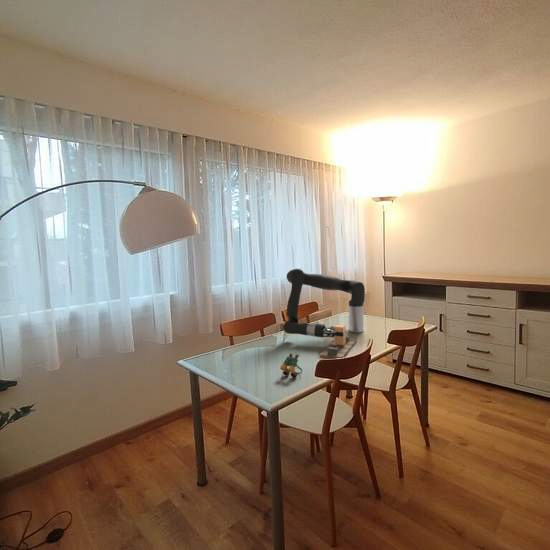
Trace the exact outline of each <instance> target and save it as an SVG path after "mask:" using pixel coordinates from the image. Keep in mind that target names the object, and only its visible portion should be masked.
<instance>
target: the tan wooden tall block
mask: <svg viewBox="0 0 550 550" xmlns="http://www.w3.org/2000/svg"><path fill="white" fill-rule="evenodd" d="M346 325H347V324H346ZM346 325H345V324H336V325H334V326H333V327H334V331H335V332H336V333H337V332H343V335H344V336H343V337H341V336H336V337H335V336H334V337H333V338H334V340H335V344H338V345H344V344H345V343H346V336H347V328H346Z"/></svg>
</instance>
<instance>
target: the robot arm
mask: <svg viewBox="0 0 550 550" xmlns="http://www.w3.org/2000/svg"><path fill="white" fill-rule="evenodd" d="M286 280H287V281H288V282H289V283H290V284H291V289H290V295H289V296H288V300H287V305H286V317H287V318H288V319H287V320H288V321H287V322H285V323H284V324H283V326H282V330H283V332H284V333H286V334H290V335H303V336H310V337H312V338H313V337H316V338H322V339H323V338H334V336H335V337H336V336H341V337H343V336H344V335H343V332H337V333H336V332H335V331H334V327H335V326H333V325H331V326H329V327H327V326H326V325H325V324H323V323H307V322H306V323H305V322H301V323H300V322H299V317H298V315H299V308H300V307H299V305H300V300H301V292H302V289H303V288H302V287H303V285H305V286H308V287H309V286H310V287H312V288H317V289H321V290H326V291H340V292H345V293H348V294H350V295H351V299H350V300H349V301H348V331H349V332H351V333H363V332H364V302H365V297H366V295H365V293H366V292H365V285H364V283H363V282H362V281H358V280H352V279H351V280H349V279H341V278H338V277H336V276H332V275H328V274H327V275H326V274H321V273H320V274H319V273H306V272H304V271H303V269H301V268H294V269H291V270H289V271H287V274H286Z"/></svg>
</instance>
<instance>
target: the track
mask: <svg viewBox="0 0 550 550" xmlns="http://www.w3.org/2000/svg"><path fill="white" fill-rule="evenodd" d="M356 344H357V339H351V338H350V335H346V343H345V344H344V345H338V344H335V339H334V340H333V341H332V342H331V343H330V344H328V346H327V347H326V348H324V350H323V351H321V353H319V358H324V359H329V358H343V357H344V358H345V357H346V356H347V355H348V354H349V352H351V350H352V349H353V347H354V346H355V345H356Z"/></svg>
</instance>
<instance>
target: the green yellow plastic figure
mask: <svg viewBox="0 0 550 550" xmlns="http://www.w3.org/2000/svg"><path fill="white" fill-rule="evenodd" d="M293 355H294V354H293V353H291V352H290V353H289V355H288V356H286V358H285V359H284V361H283V363H282V364H281V365H280V367H279V369H280V370H281V371H282V374H283V375H284V376H285V375H288V376H287V377H289V376H290V377H291V378H293V377H296V378H297V377H298V375H300V374H302V373H303V369H302V367H300V366H299V365H298V364H297V363H298V361H299V360H298V359H299V356H300V355H299V354H295V356H294V357H293ZM296 369H299V370H300V371H301V372H297V371H295V370H296Z"/></svg>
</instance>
